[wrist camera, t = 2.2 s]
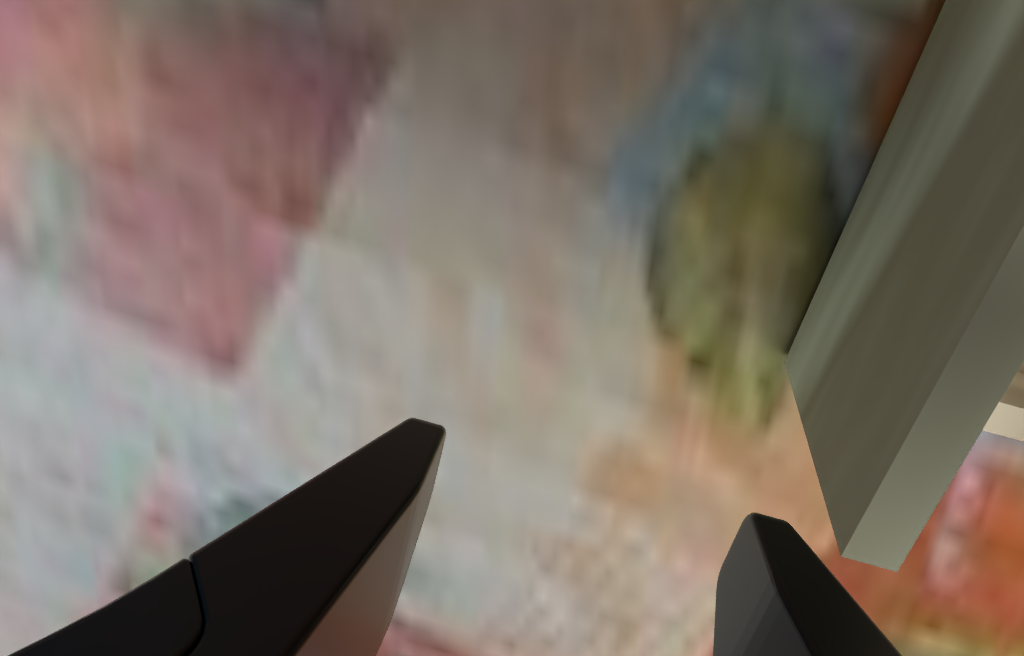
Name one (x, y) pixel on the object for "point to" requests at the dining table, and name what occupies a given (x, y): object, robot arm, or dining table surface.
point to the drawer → (923, 293)
